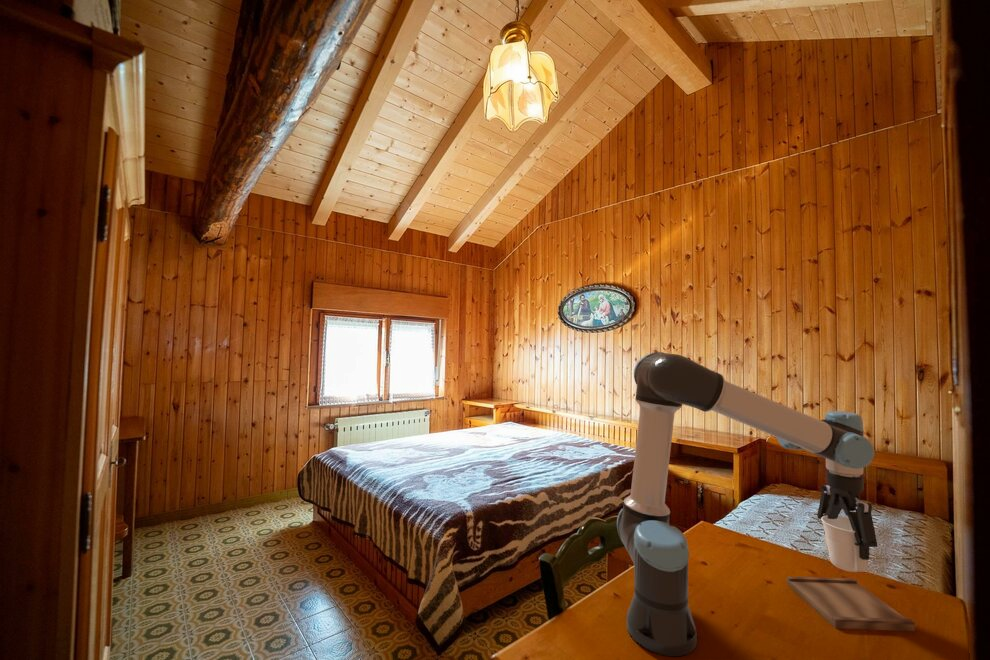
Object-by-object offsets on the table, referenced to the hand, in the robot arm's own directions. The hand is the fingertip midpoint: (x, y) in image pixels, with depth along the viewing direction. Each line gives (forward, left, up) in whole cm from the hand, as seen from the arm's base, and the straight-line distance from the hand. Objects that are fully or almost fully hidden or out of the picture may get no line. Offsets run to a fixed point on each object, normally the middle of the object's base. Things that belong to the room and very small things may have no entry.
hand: (845, 560), depth 109 cm
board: (0, 0, -12) cm, 12 cm away
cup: (0, 0, -2) cm, 2 cm away
